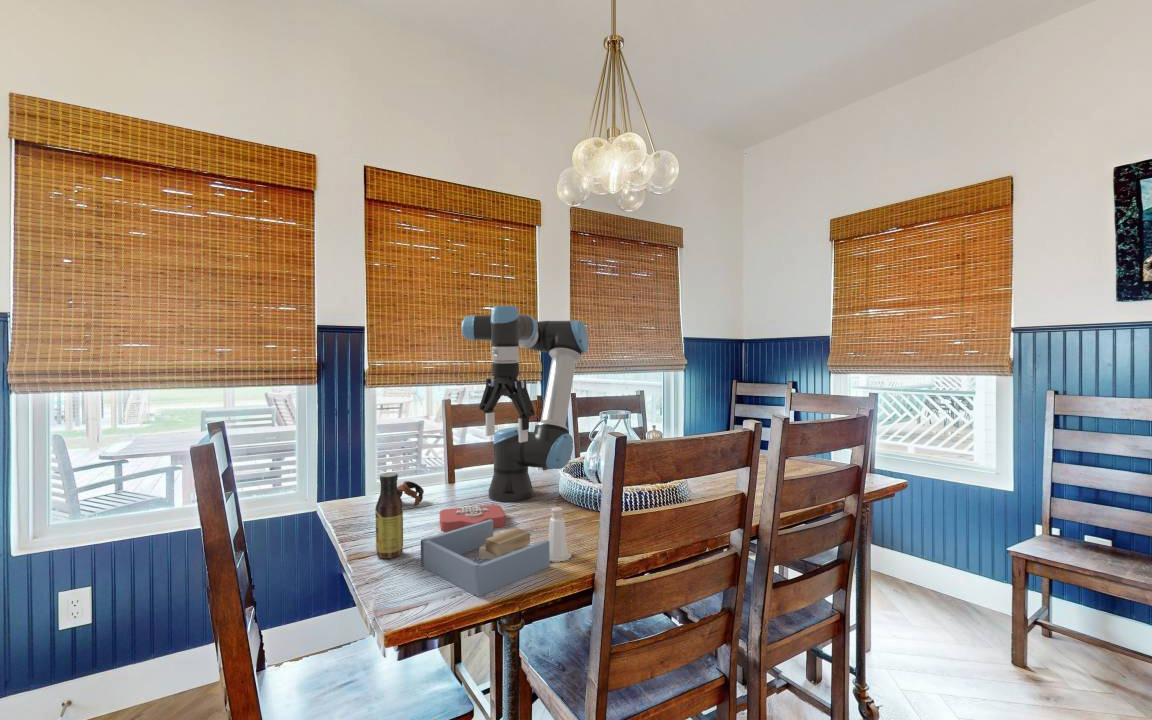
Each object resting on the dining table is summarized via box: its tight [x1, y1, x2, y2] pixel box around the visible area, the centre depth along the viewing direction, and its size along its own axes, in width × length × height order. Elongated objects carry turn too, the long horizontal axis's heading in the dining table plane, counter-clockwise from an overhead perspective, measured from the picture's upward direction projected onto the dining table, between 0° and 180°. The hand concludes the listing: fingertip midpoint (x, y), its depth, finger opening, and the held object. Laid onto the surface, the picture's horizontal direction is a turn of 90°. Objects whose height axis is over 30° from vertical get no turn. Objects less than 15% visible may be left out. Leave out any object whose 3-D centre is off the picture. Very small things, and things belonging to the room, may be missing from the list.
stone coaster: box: [549, 549, 573, 563], centre depth 125 cm, size 7×7×1 cm
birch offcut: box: [478, 543, 531, 561], centre depth 124 cm, size 5×13×3 cm, turn 76°
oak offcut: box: [486, 527, 531, 556], centre depth 124 cm, size 5×10×3 cm, turn 140°
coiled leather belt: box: [397, 480, 425, 507], centre depth 165 cm, size 12×10×8 cm
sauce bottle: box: [374, 471, 404, 559], centre depth 125 cm, size 7×6×20 cm
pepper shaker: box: [547, 506, 568, 558], centre depth 125 cm, size 5×5×11 cm
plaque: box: [439, 504, 506, 533], centre depth 147 cm, size 18×4×15 cm
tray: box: [420, 519, 550, 598], centre depth 119 cm, size 20×22×6 cm
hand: (506, 438), depth 143 cm, fingers open, 13 cm apart
